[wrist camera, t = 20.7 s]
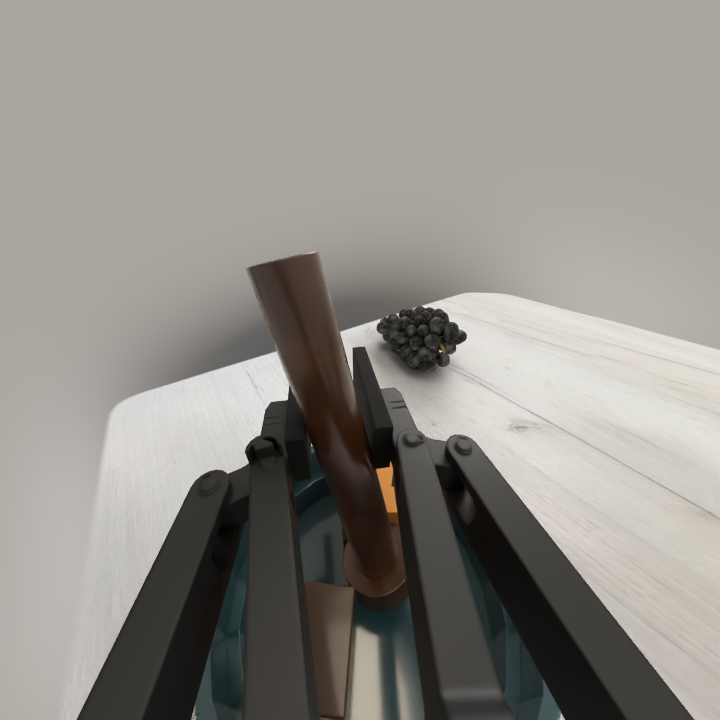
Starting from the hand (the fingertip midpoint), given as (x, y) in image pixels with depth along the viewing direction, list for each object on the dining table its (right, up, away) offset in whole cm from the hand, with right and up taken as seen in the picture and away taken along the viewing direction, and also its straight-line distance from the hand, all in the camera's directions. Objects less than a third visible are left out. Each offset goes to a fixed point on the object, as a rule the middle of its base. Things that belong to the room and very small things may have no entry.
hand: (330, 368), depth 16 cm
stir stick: (+3, -12, -1) cm, 12 cm away
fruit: (+10, +1, +24) cm, 26 cm away
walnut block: (0, -15, -3) cm, 15 cm away
